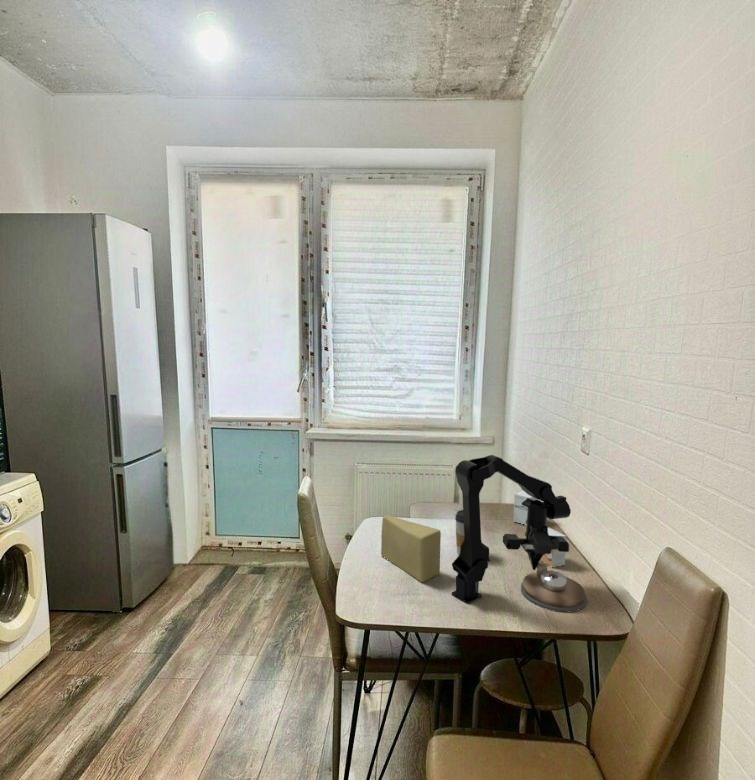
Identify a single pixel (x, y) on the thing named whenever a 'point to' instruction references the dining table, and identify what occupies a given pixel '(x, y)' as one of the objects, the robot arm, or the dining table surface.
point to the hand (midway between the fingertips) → (533, 569)
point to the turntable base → (550, 605)
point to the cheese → (411, 547)
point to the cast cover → (553, 581)
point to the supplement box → (521, 507)
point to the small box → (554, 552)
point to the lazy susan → (559, 599)
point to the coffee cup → (459, 530)
